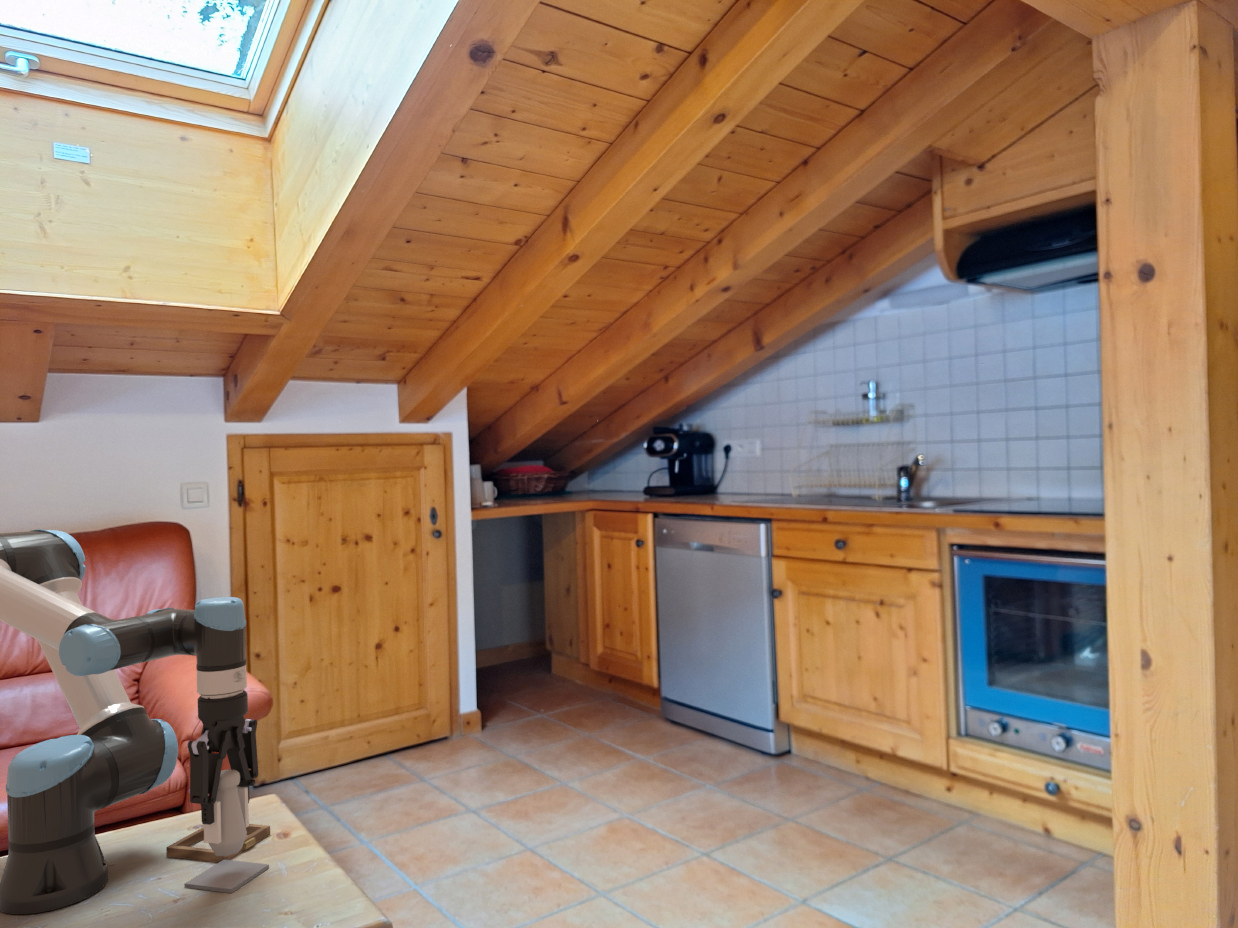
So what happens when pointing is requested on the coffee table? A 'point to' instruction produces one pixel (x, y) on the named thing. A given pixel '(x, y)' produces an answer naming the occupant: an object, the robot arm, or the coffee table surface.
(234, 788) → the salt shaker
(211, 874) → the coaster
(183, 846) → the brown wooden frame
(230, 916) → the coffee table surface
